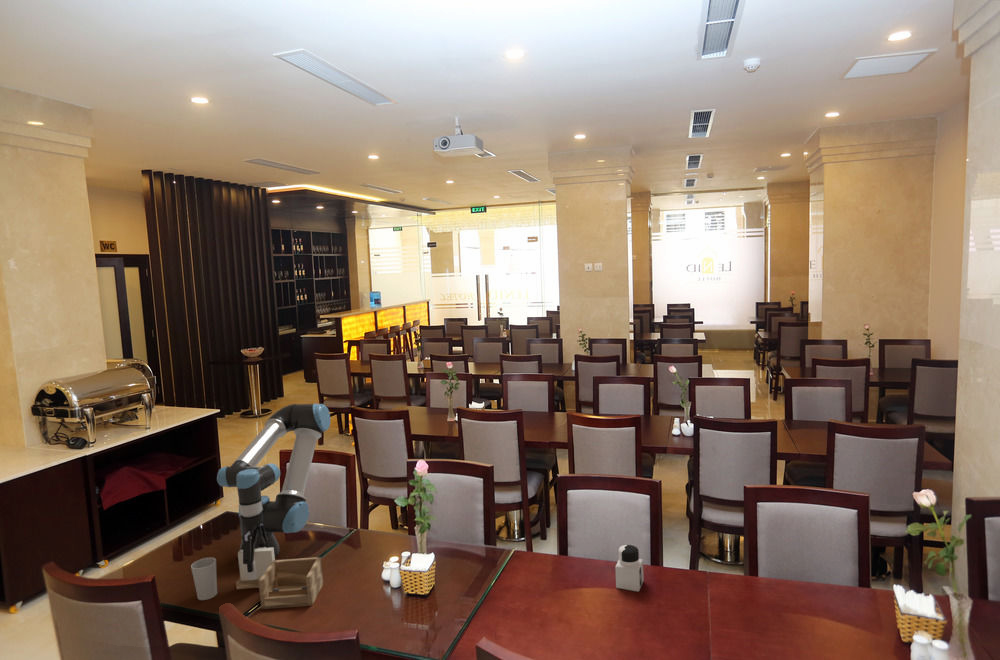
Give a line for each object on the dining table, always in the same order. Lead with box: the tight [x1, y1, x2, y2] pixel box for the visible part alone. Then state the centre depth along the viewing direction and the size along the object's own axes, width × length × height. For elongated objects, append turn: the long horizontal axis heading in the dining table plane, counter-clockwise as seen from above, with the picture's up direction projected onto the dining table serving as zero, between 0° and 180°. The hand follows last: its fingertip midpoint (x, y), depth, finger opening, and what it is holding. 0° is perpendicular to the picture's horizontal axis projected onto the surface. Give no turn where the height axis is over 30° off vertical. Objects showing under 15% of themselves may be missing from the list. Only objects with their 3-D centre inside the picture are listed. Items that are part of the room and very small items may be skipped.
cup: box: [190, 557, 218, 601], centre depth 208 cm, size 8×8×12 cm
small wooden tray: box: [235, 576, 260, 590], centre depth 214 cm, size 5×14×2 cm, turn 92°
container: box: [615, 544, 644, 592], centre depth 198 cm, size 8×8×13 cm
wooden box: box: [258, 556, 324, 610], centre depth 204 cm, size 14×17×10 cm
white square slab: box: [237, 547, 276, 581], centre depth 213 cm, size 3×12×13 cm, turn 92°
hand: (258, 571), depth 213 cm, fingers open, 10 cm apart
